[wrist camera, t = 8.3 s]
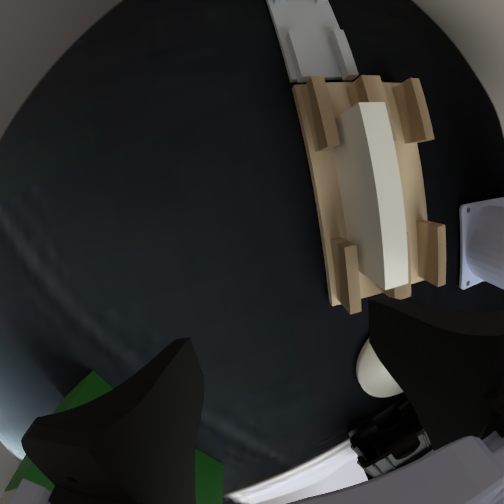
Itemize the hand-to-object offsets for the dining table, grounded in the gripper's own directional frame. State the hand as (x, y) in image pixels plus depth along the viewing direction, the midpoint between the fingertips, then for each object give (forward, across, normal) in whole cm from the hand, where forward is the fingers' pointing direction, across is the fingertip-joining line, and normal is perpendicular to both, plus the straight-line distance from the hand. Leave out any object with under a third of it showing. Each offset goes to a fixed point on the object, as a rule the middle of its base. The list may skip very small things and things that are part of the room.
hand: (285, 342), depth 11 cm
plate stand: (+10, -7, -18) cm, 22 cm away
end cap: (+10, -11, +21) cm, 26 cm away
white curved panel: (+9, -7, -4) cm, 12 cm away
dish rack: (+10, -9, -4) cm, 14 cm away
